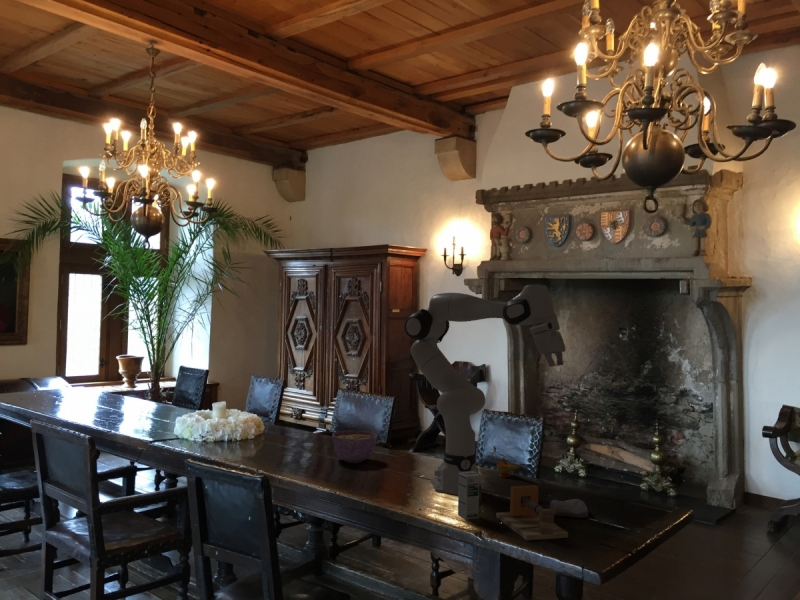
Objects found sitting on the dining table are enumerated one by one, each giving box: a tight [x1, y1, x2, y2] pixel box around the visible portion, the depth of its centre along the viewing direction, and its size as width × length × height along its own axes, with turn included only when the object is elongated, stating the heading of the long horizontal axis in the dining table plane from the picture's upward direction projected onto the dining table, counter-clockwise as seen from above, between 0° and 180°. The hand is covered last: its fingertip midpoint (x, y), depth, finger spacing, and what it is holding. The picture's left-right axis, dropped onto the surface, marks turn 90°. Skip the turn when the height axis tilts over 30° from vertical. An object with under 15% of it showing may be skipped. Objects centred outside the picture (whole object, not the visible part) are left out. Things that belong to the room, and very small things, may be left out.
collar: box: [509, 484, 539, 516], centre depth 215 cm, size 2×9×9 cm, turn 106°
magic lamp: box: [491, 446, 526, 478], centre depth 273 cm, size 7×18×11 cm, turn 41°
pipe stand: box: [496, 496, 569, 541], centre depth 210 cm, size 22×14×8 cm, turn 16°
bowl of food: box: [331, 430, 378, 464], centre depth 290 cm, size 20×20×12 cm
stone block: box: [549, 498, 589, 519], centre depth 226 cm, size 12×5×10 cm
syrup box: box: [457, 471, 483, 521], centre depth 219 cm, size 6×6×14 cm
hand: (556, 365), depth 228 cm, fingers open, 8 cm apart
